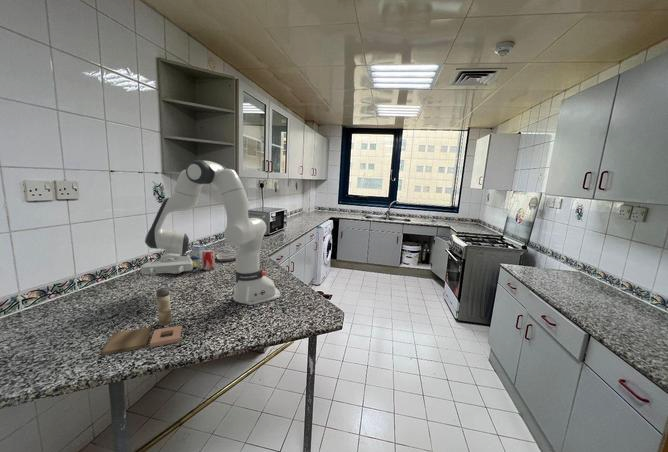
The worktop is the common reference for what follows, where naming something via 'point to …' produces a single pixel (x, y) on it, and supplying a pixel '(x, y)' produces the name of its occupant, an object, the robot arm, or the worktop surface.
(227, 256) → the brain slice
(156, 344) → the frame
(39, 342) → the worktop surface
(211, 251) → the soda can
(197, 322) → the worktop surface
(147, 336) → the walnut board
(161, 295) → the beech tool handle
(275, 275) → the worktop surface
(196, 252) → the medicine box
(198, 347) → the worktop surface
